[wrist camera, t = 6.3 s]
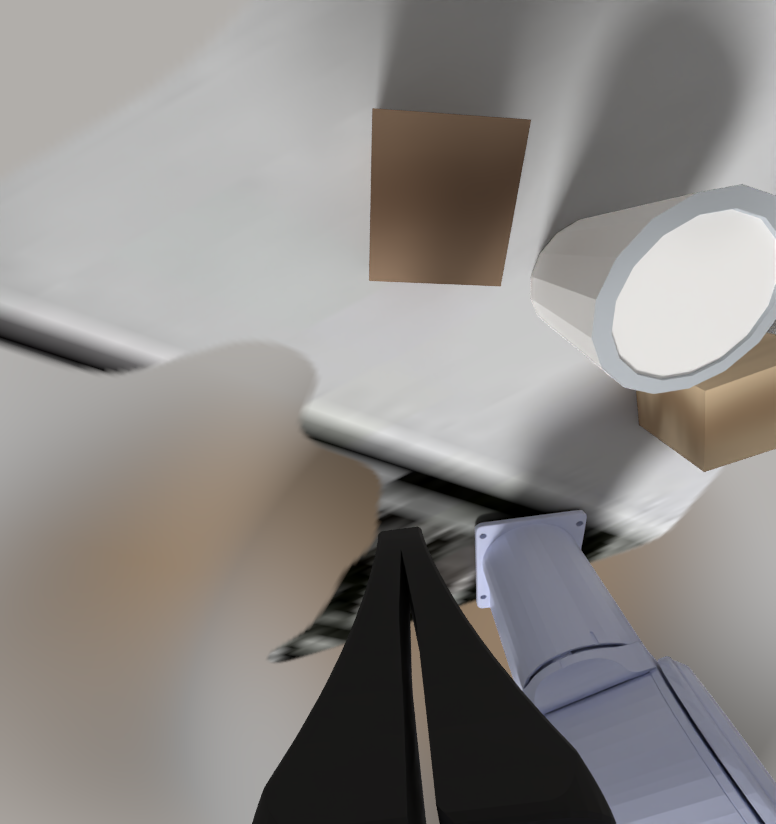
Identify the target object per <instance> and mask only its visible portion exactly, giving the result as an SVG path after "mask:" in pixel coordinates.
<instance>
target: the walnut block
mask: <svg viewBox="0 0 776 824" xmlns="http://www.w3.org/2000/svg"><path fill="white" fill-rule="evenodd" d="M530 123H531V120H528V119H514V118H500V117H486V116H472V115H458V114H444V113H430V112H416V111H402V110H388V109H374V108H373V111H372V156H371V209H370V261H369V281H386V282H410V283H434V284H458V285H483V286H501V281H502V276H503V270H504V265H505V259H506V254H507V248H508V243H509V238H510V232H511V227H512V221H513V216H514V210H515V205H516V199H517V194H518V188H519V183H520V177H521V172H522V166H523V161H524V156H525V150H526V145H527V139H528V134H529V128H530Z"/></svg>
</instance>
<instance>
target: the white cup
mask: <svg viewBox="0 0 776 824" xmlns="http://www.w3.org/2000/svg"><path fill="white" fill-rule="evenodd" d="M530 298H531V301H532V303H533V306H534V308H535V311H536V313H537V316H538V317H539V318H540V319H542V320H543V321H544V322H545V323H546V324H547V325H549V326H550V327H551V328H552V329H553V330H554V331H556V332H557V333H558V334H559V335H561V336H562V337H563V338H564V339H565V340H567V341H568V342H569V343H570V344H572V345H573V346H574V347H575V348H576V349H578V350H579V351H580V352H581V353H582V354H584V355H585V356H586V357H587V358H589V359H590V360H591V361H592V362H593V363H595V364H596V365H597V366H598V367H599V368H601V369H602V370H603V371H604V372H606V373H607V374H608V375H609V376H610V377H612V378H613V379H614V380H615V381H617V382H618V383H619V384H620V385H621V386H623V387H624V388H629V389H633V390H638V391H642V392H647V393H651V394H657V393H664V392H670V391H676V390H682V389H689V388H691V387H693V386H695V385H697V384H699V383H701V382H703V381H705V380H707V379H709V378H711V377H714V376H716V375H718V374H720V373H722V372H724V371H726V370H727V369H728V368H729V367H730V366H732V365H733V364H734V363H735V362H736V361H738V360H739V359H740V358H741V357H742V356H744V355H745V354H746V353H747V352H748V351H750V350H751V349H752V348H753V347H754V346H756V345H757V344H758V343H759V342H760V340H761V339H762V338H763V336H764V335H765V334H766V332H767V331H768V330H769V328H770V327H771V325H772V324H773V323H774V321H775V320H776V195H773V194H770V193H767V192H764V191H761V190H758V189H755V188H752V187H749V186H746V185H743V184H742V185H736V186H730V187H725V188H719V189H713V190H708V191H702V192H697V193H692V194H688V195H684V196H679V197H675V198H671V199H666V200H662V201H658V202H653V203H649V204H645V205H640V206H636V207H632V208H627V209H623V210H619V211H614V212H610V213H606V214H601V215H597V216H593V217H588V218H584V219H580V220H577V221H576V222H574V223H573V224H571V225H569V226H568V227H566V228H564V229H563V230H561V231H560V232H558V233H557V234H556V235H555V236H554V237H553V238H552V240H551V241H550V242H549V243H548V244H547V246H546V247H545V248H544V249H543V250H542V252H541V253H540V255H539V257H538V260H537V262H536V265H535V267H534V270H533V272H532V275H531V294H530Z"/></svg>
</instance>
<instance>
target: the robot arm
mask: <svg viewBox="0 0 776 824" xmlns="http://www.w3.org/2000/svg"><path fill="white" fill-rule="evenodd" d="M586 520H587V515H586V514H585V512H584V511H582V510H574V511H567V512H559V513H551V514H544V515H536V516H529V517H521V518H513V519H506V520H498V521H490V522H483V523H479V524H477V525H476V526H475V557H476V602H477V605H478V607H480V608H488V607H490V608H491V611H492V614H493V617H494V620H495V623H496V627H497V630H498V633H499V636H500V639H501V642H502V645H503V648H504V652H505V655H506V658H507V661H508V664H509V667H510V670H511V673H512V677H513V679H514V680H513V679H512V678H511V677H510V675H509V674H508V673H507V672H506V670H505V669H504V668H503V667H502V666H501V664H500V663H499V662H498V661H497V659H496V658H495V657H494V656H493V654H492V653H491V652H490V650H489V649H488V648H487V646H486V645H485V644H484V642H483V641H482V640H481V638H480V637H479V635H478V634H477V633H476V631H475V630H474V628H473V627H472V625H471V624H470V623H469V621H468V620H467V618H466V617H465V615H464V614H463V612H462V610H461V609H460V607H459V606H458V604H457V602H456V601H455V599H454V598H453V596H452V594H451V593H450V591H449V589H448V588H447V586H446V584H445V582H444V580H443V578H442V577H441V575H440V573H439V571H438V569H437V567H436V565H435V563H434V561H433V559H432V557H431V555H430V553H429V550H428V548H427V546H426V543H425V540H424V537H423V534H422V530H421V529H420V528H419V527H412V528H404V529H396V530H389V531H381V532H380V533H379V535H378V543H377V549H376V554H375V559H374V563H373V567H372V570H371V574H370V577H369V580H368V584H367V587H366V591H365V594H364V597H363V599H362V602H361V605H360V608H359V610H358V613H357V616H356V619H355V621H354V624H353V626H352V629H351V631H350V634H349V636H348V638H347V641H346V643H345V645H344V647H343V650H342V652H341V654H340V656H339V658H338V661H337V662H336V664H335V667H334V669H333V671H332V673H331V675H330V677H329V679H328V681H327V683H326V685H325V687H324V689H323V690H322V692H321V694H320V696H319V698H318V700H317V702H316V703H315V705H314V707H313V709H312V710H311V712H310V714H309V716H308V717H307V719H306V721H305V723H304V724H303V726H302V728H301V730H300V732H299V733H298V735H297V737H296V738H295V740H294V741H293V743H292V745H291V746H290V748H289V749H288V751H287V753H286V754H285V756H284V757H283V759H282V760H281V762H280V764H279V765H278V767H277V768H276V770H275V771H274V773H273V775H272V777H271V778H270V779H269V781H268V783H267V784H266V786H265V788H264V790H263V793H262V795H261V798H260V801H259V804H258V807H257V810H256V813H255V816H254V819H253V822H252V824H426V818H425V809H424V799H423V790H422V780H421V771H420V761H419V752H418V742H417V733H416V722H415V712H414V703H413V691H412V674H411V673H412V669H411V637H410V636H411V631H410V606H411V611H412V616H413V621H414V626H415V631H416V636H417V641H418V646H419V651H420V659H421V668H422V677H423V686H424V695H425V705H426V714H427V723H428V731H429V741H430V751H431V760H432V769H433V778H434V788H435V796H436V797H435V798H436V806H437V811H438V816H439V822H440V824H776V782H775V781H774V780H773V778H772V777H771V775H770V774H769V773H768V772H767V770H766V769H765V767H764V766H763V764H762V763H761V762H760V761H759V759H758V758H757V756H756V755H755V753H754V752H753V751H752V750H751V748H750V747H749V745H748V744H747V743H746V741H745V740H744V739H743V737H742V736H741V735H740V733H739V732H738V730H737V729H736V728H735V726H734V725H733V724H732V722H731V721H730V720H729V718H728V717H727V716H726V714H725V713H724V712H723V710H722V709H721V708H720V706H719V705H718V704H717V702H716V701H715V700H714V698H713V697H712V696H711V694H710V693H709V692H708V690H707V689H706V688H705V686H704V685H703V684H702V683H701V681H700V680H699V679H698V677H697V676H696V675H695V674H694V672H693V671H692V670H691V669H690V668H689V667H688V666H687V665H685V664H683V663H680V662H678V661H674V660H673V659H672V658H671V657H669V656H665V657H663V658H660V659H658V662H657V661H656V659H654V657H653V656H652V655H651V654H650V653H649V652H648V650H647V649H646V648H645V646H644V645H643V643H642V641H641V640H640V639H639V637H638V635H637V634H636V633H635V631H634V629H633V628H632V626H631V625H630V623H629V622H628V620H627V619H626V617H625V616H624V614H623V613H622V611H621V610H620V608H619V607H618V605H617V604H616V602H615V601H614V599H613V598H612V596H611V594H610V593H609V591H608V590H607V588H606V587H605V585H604V584H603V582H602V581H601V579H600V578H599V576H598V575H597V573H596V572H595V570H594V569H593V567H592V566H591V564H590V563H589V561H588V560H587V558H586V557H585V555H584V553H583V552H582V550H581V547H582V542H583V536H584V531H585V525H586ZM481 534H482V535H481Z"/></svg>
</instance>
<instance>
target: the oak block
mask: <svg viewBox="0 0 776 824" xmlns="http://www.w3.org/2000/svg"><path fill="white" fill-rule="evenodd" d="M636 396H637V407H638V418H639V425H640V426H641V427H643V428H644V429H645V430H647V431H648V432H650V433H651V434H652V435H654V436H655V437H657V438H658V439H659V440H661V441H662V442H663V443H665V444H666V445H668V446H669V447H670V448H672V449H673V450H675V451H676V452H677V453H679V454H680V455H681V456H683V457H684V458H686V459H687V460H688V461H690V462H691V463H692V464H694V465H695V466H697V467H698V468H699V469H701V470H702V471H704V472H706V471H709V470H712V469H715V468H718V467H721V466H724V465H727V464H730V463H733V462H737V461H739V460H743V459H746V458H749V457H752V456H755V455H758V454H761V453H764V452H767V451H770V450H773V449H776V335H774V334H770V333H767V332H766V334H765V335H764V336H763V338H762V339H761V340H760V342H759V343H758V344H757V345H756V346H754V347H753V348H752V349H751V350H750V351H748V352H747V353H746V354H745V355H744V356H742V357H741V358H740V359H739V360H738V361H736V362H735V363H734V364H733V365H732V366H730V367H729V368H728V369H727V370H726V371H724V372H722V373H720V374H718V375H716V376H714V377H711V378H709V379H707V380H705V381H703V382H701V383H699V384H697V385H695V386H693V387H691V388H689V389H682V390H676V391H670V392H664V393H657V394H651V393H647V392H642V391H638V390H636Z"/></svg>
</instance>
